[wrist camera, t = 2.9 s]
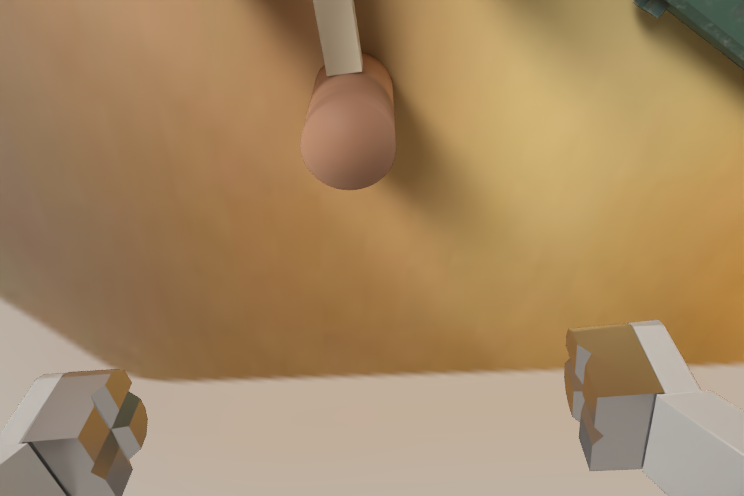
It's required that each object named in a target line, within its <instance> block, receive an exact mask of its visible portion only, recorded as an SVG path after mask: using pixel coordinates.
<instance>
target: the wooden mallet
mask: <svg viewBox="0 0 744 496" xmlns="http://www.w3.org/2000/svg"><path fill="white" fill-rule="evenodd" d="M313 4H314V10H315V15H316V21H317V26H318V31H319V37H320V42H321V48H322V53H323V58H324V65H323V67H322V68H321V69H320V71H319V73H318V75H317V78H316V81H315V85H314V89H313V93H312V97H311V101H310V105H309V109H308V113H307V117H306V121H305V125H304V129H303V133H302V136H301V154H302V157H303V160H304V162H305V165H306V166H307V168H308V169H309V171H310V172H311V173H312V174H313V175H314V176H315V177H316V178H317V179H318V180H320V181H321V182H323V183H325V184H326V185H329V186H331V187H334V188H337V189H343V190H357V189H362V188H365V187H368V186H370V185H373V184H374V183H376V182H378V181H379V180H380V179H382V178H383V177H384V176H385V175H386V173H387V172H388V171H389V169H390V168H391V166H392V164H393V161H394V158H395V154H396V137H395V119H394V100H393V85H392V80H391V77H390V75H389V73H388V71H387V70H386V68H385V67H384V66H383V65H382V64H381V63H380V62H379V61H378V60H377V59H375V58H374V57H372V56H370V55H367V54H364V53H361V47H360V40H359V33H358V27H357V20H356V13H355V7H354V0H313Z"/></svg>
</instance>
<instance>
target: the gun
mask: <svg viewBox="0 0 744 496" xmlns="http://www.w3.org/2000/svg"><path fill="white" fill-rule="evenodd" d="M633 3H634V4H635V5H637V6H638V7H639V8H641V9H642V10H644V11H645V12H649V13H650V14H651V15H652V16H654V17H656V18H659V17H660V16H661V15H662V14H663V12H664V11H665V10H666V9H667V10H668V11H669V12H670V13H672V14H673V15H674V16H676V17H677V18H678V19H679V20H681V21H682V22H683V23H685V24H686V25H687V26H688V27H690V28H691V29H692V30H693V31H695V32H696V33H697V34H699V35H700V36H701V37H702V38H704V39H705V40H706V41H708V42H709V43H710V44H711V45H713V46H714V47H715V48H717V49H718V50H719V51H720V52H722V53H723V54H724V55H725V56H727V57H728V58H729V59H731V60H732V61H733V62H734V63H736V64H737V65H738V66H740V67H741V68H742V69H743V70H744V0H634V2H633Z"/></svg>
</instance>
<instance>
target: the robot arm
mask: <svg viewBox="0 0 744 496" xmlns="http://www.w3.org/2000/svg"><path fill="white" fill-rule="evenodd" d="M566 347H567V350H568V353H569V356H570V359H569V360H568V361H567V362H566V363H565V375H564V378H565V388H566V395H567V399H568V403H569V407H570V411H571V413H572V417H574V418H575V419H576V420H578V421H579V422H580V431H579V439H580V442H581V445H582V448H583V451H584V454H585V457H586V460H587V463H588V466H589V469H590V471H601V470H628V469H643V473H645V474H646V475H647V476H648V477H649V478H650V479H651V480H652V481H653V482H654V483H655V484H656V485H657V486H658V487H659V488H660V489H661V490H662V491H663V492H664V493H666V494H667V495H668V496H744V410H742V409H740V408H739V407H737V406H736V405H734V404H732V403H731V402H729V401H728V400H726V399H724V398H723V397H721V396H719V395H718V394H716V393H715V392H713V391H702V390H701V388H700V387H699V385H698V383H697V381H696V380H695V378H694V376H693V375H692V373H691V371H690V369H689V368H688V366H687V364H686V362H685V361H684V359H683V357H682V355H681V354H680V352H679V350H678V348H677V347H676V345H675V343H674V341H673V340H672V338H671V336H670V335H669V333H668V331H667V329H666V328H665V326H664V324H663V323H662V322H660V321H659V320H651V321H641V322H631V323H627V324H626V323H623V324H613V325H602V326H592V327H582V328H571V329H568V332H567V335H566ZM131 384H132V383H131V380H130V379H129V377H128V375H127V374H126V372H125V370H119V369H111V370H95V371H81V372H68V373H57V374H44V375H42V376H40V377H39V378H37V379H36V380H35V381H34V383H33V384H32V386H31V387H30V389H29V390H28V392H27V394H26V395H25V396H24V398H23V400H22V401H21V402H20V404H19V406H18V407H17V409H16V410H15V412H14V413H13V415H12V416H11V418H10V419H9V421H8V422H7V424H6V425H5V427H4V428H3V430H2V432H1V433H0V496H122V494H123V492H124V489H125V487H126V485H127V482H128V480H129V477H130V475H131V472H132V470H133V469H132V466H131V464H130V461H129V459H130V458H131V457H132V456H133V455H135V454H136V453H137V452H138V451H139V450H140V449H141V447H142V445H143V442H144V440H145V437H146V432H147V420H148V419H147V414H146V410H145V407H144V405H143V403H142V401H141V399H140V398H138V397H137V396H135V395H133V394H132V393H130V392H129V389H130V386H131Z"/></svg>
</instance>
